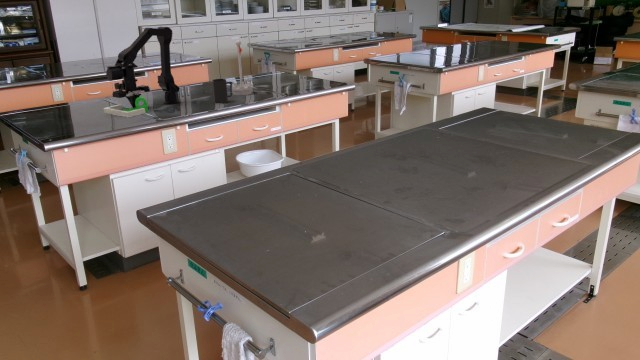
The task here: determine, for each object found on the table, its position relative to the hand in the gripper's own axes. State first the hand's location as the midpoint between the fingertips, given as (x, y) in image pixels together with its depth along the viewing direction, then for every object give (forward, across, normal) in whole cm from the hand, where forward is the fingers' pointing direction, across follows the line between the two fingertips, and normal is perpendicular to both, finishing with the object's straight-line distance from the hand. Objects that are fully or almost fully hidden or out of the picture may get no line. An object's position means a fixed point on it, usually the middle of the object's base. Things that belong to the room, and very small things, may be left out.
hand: (134, 108), depth 268 cm
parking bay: (+1, +6, 0) cm, 6 cm away
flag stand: (+2, -59, +20) cm, 63 cm away
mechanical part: (+2, +2, +4) cm, 5 cm away
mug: (+2, -37, +27) cm, 46 cm away
